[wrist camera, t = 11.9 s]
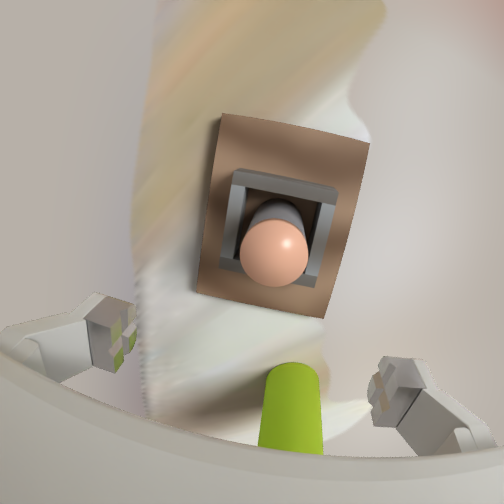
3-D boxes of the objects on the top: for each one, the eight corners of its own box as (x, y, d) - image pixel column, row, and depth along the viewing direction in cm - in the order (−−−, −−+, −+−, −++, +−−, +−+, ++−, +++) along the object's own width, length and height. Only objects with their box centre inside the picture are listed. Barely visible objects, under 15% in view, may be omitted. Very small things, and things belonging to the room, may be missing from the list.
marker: (258, 193, 25) (246, 215, 18) (307, 204, 25) (315, 230, 18) (249, 239, 27) (234, 279, 19) (296, 249, 27) (299, 292, 19)
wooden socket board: (225, 114, 25) (213, 109, 21) (365, 143, 24) (380, 143, 20) (200, 285, 31) (186, 307, 26) (322, 310, 30) (326, 336, 26)
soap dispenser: (248, 375, 34) (213, 540, 15) (306, 355, 32) (307, 535, 13) (272, 407, 35) (253, 559, 16) (326, 390, 33) (335, 551, 14)
